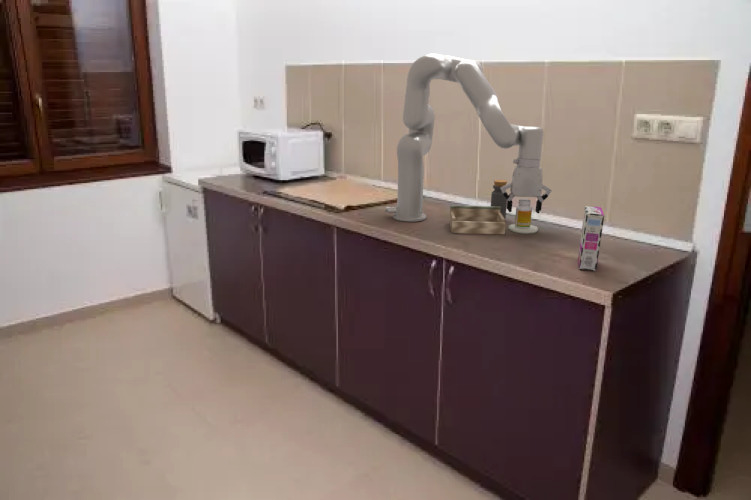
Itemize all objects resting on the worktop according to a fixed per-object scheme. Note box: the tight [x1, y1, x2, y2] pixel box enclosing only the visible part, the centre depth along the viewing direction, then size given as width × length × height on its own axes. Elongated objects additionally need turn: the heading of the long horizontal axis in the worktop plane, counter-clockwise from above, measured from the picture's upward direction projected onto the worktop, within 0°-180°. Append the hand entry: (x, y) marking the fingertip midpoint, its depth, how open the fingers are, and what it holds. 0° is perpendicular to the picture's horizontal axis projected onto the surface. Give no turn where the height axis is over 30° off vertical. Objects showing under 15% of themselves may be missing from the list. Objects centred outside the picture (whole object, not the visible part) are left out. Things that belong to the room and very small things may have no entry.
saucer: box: [508, 223, 539, 235], centre depth 206 cm, size 10×10×1 cm
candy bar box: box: [577, 205, 605, 272], centre depth 167 cm, size 11×5×16 cm, turn 163°
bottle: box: [490, 179, 509, 220], centre depth 217 cm, size 6×6×15 cm
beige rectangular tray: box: [448, 204, 506, 235], centre depth 206 cm, size 18×13×7 cm
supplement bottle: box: [514, 198, 533, 229], centre depth 204 cm, size 5×5×10 cm
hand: (523, 211), depth 204 cm, fingers open, 9 cm apart
